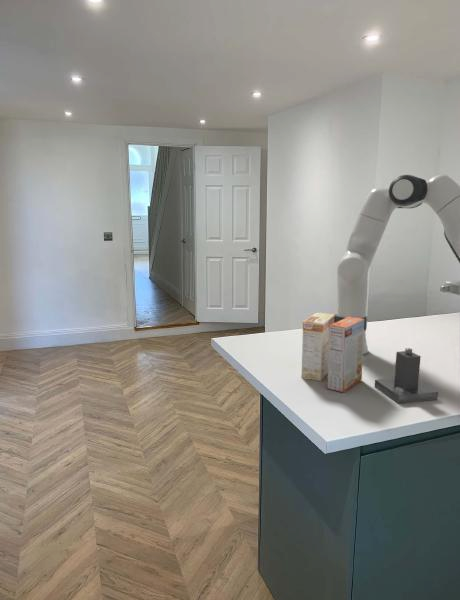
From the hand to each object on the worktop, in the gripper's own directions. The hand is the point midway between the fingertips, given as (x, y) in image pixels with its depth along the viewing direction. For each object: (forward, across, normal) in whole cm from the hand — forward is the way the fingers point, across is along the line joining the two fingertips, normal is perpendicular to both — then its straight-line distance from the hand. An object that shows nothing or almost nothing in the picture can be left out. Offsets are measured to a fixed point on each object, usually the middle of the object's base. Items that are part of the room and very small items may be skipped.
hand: (451, 291), depth 143 cm
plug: (+17, +5, +29) cm, 34 cm away
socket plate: (+17, +5, +30) cm, 35 cm away
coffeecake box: (+36, -18, +30) cm, 50 cm away
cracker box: (+32, -6, +30) cm, 44 cm away
